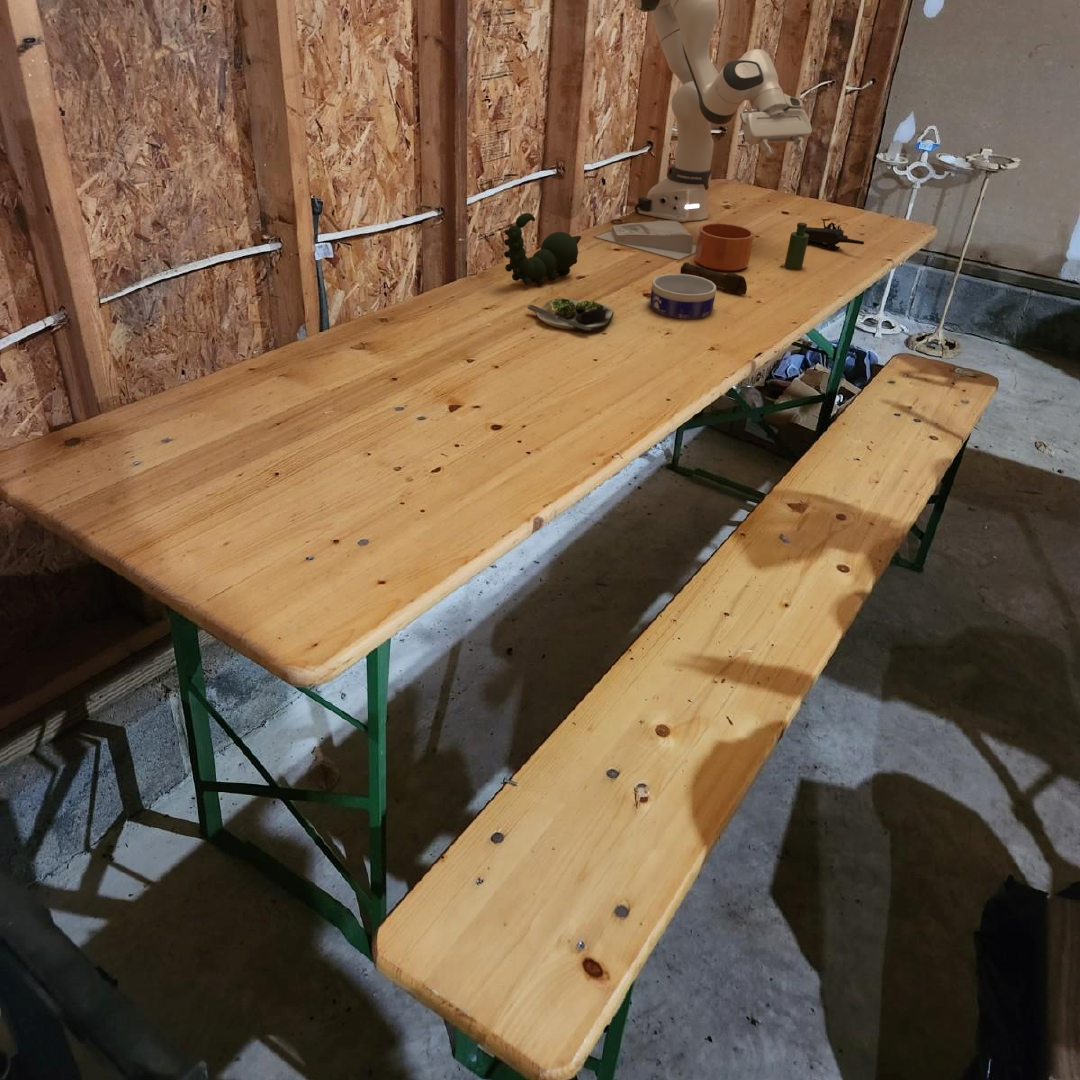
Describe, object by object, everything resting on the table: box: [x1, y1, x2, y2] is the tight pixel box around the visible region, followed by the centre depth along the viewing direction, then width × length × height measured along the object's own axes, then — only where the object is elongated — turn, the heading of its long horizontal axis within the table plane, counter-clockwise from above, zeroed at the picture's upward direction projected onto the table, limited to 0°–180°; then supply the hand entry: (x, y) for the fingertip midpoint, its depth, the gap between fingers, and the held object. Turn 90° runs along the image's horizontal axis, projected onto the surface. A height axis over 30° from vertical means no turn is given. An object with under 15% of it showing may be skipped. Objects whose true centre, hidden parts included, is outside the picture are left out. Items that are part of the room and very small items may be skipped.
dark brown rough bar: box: [679, 262, 748, 295], centre depth 237 cm, size 19×4×5 cm, turn 48°
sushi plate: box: [526, 297, 615, 334], centre depth 213 cm, size 19×18×5 cm
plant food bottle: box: [783, 222, 809, 271], centre depth 252 cm, size 5×5×12 cm
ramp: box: [595, 220, 697, 261], centre depth 266 cm, size 28×16×5 cm, turn 53°
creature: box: [821, 217, 845, 234], centre depth 283 cm, size 8×5×8 cm
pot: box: [694, 222, 755, 272], centre depth 252 cm, size 15×15×9 cm
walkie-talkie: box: [805, 226, 865, 251], centre depth 271 cm, size 6×6×20 cm
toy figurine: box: [503, 212, 582, 287], centre depth 230 cm, size 9×19×25 cm
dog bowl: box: [649, 273, 717, 320], centre depth 223 cm, size 15×15×6 cm
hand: (785, 154), depth 249 cm, fingers open, 8 cm apart
